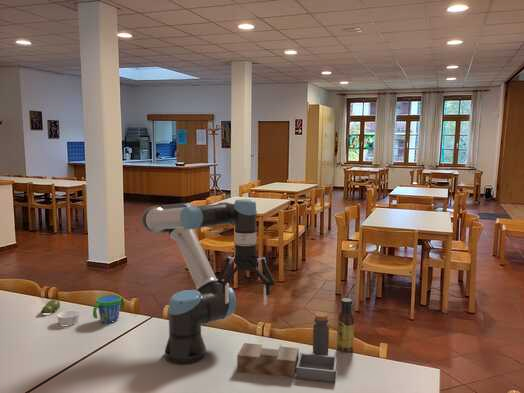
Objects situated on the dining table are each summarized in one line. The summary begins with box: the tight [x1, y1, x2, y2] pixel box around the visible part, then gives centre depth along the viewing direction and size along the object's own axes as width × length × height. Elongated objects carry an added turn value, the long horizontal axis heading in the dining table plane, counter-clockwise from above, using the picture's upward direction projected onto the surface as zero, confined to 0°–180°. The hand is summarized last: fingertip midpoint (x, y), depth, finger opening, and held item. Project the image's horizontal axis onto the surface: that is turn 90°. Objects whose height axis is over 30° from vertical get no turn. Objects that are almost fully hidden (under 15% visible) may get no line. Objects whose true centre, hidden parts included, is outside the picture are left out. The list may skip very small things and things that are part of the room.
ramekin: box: [56, 309, 80, 325], centre depth 200 cm, size 9×9×4 cm
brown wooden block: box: [236, 342, 300, 379], centre depth 161 cm, size 20×10×6 cm, turn 78°
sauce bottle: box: [336, 297, 355, 353], centre depth 176 cm, size 6×6×20 cm
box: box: [295, 352, 338, 384], centre depth 158 cm, size 13×11×4 cm
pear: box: [40, 298, 61, 314], centre depth 213 cm, size 6×5×10 cm
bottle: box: [312, 311, 330, 356], centre depth 173 cm, size 6×6×15 cm
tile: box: [261, 340, 282, 356], centre depth 160 cm, size 6×6×2 cm
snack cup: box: [92, 294, 126, 323], centre depth 203 cm, size 16×10×10 cm
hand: (246, 303), depth 162 cm, fingers open, 13 cm apart
